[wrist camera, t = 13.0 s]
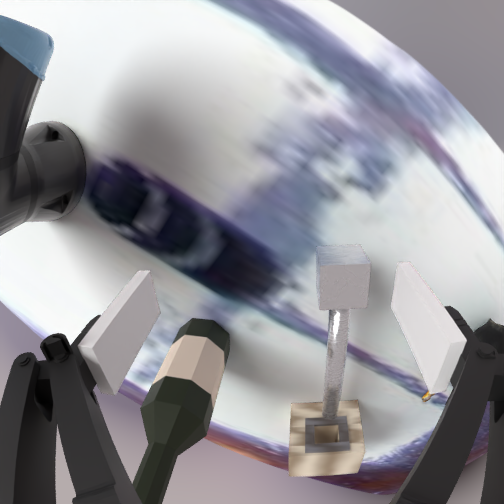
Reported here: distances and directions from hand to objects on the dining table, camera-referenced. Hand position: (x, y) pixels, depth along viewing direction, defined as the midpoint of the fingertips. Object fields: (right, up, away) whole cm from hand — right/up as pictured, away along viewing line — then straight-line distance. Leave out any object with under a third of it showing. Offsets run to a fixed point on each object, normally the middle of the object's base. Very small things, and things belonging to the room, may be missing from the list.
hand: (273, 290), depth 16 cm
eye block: (+12, -28, +35) cm, 47 cm away
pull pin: (+9, -9, +22) cm, 26 cm away
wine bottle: (-8, -11, +31) cm, 34 cm away
